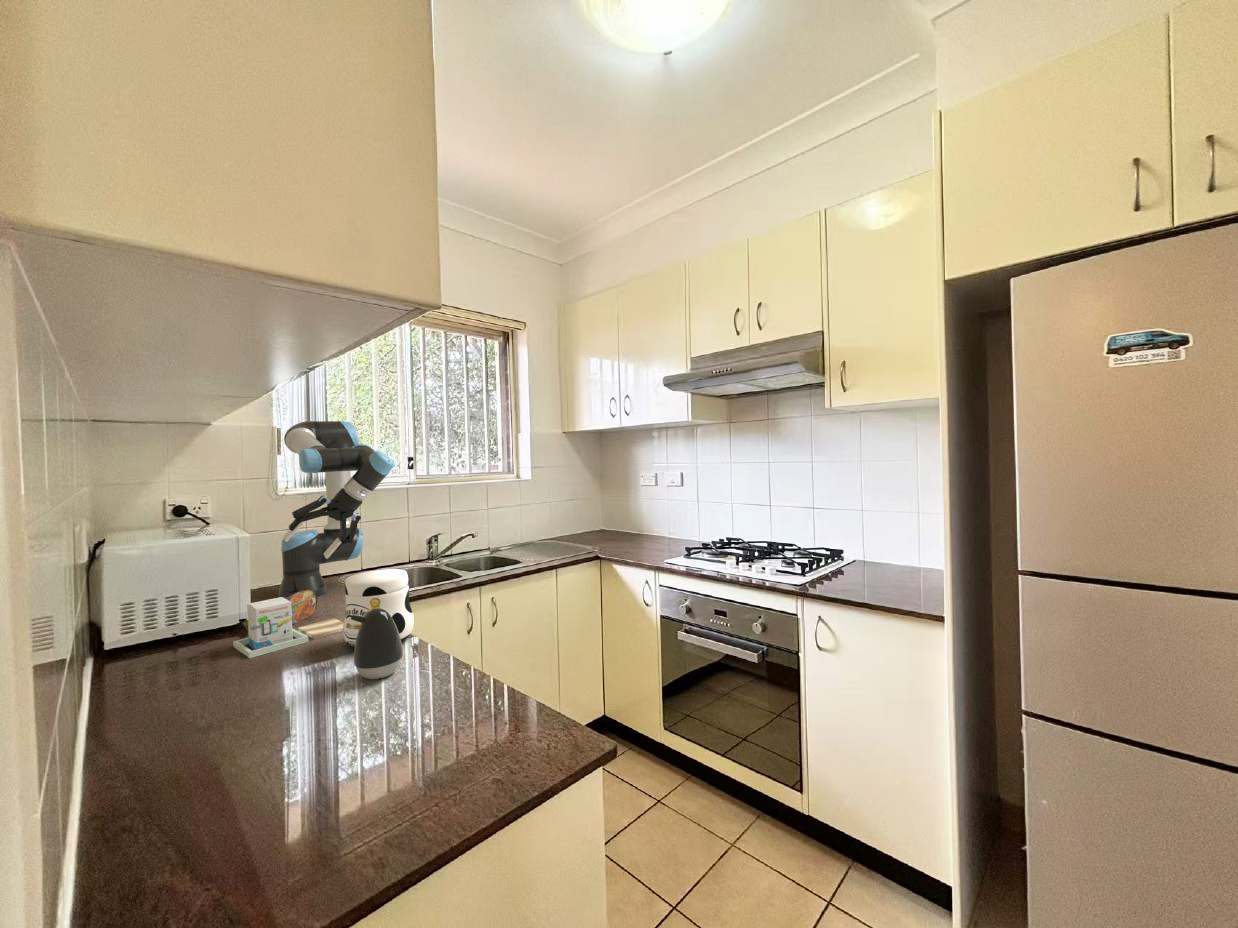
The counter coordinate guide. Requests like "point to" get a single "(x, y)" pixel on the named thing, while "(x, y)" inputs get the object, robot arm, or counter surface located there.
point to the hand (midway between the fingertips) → (305, 548)
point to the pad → (322, 628)
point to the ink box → (269, 622)
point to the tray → (250, 654)
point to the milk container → (378, 600)
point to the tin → (302, 605)
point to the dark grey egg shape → (377, 645)
